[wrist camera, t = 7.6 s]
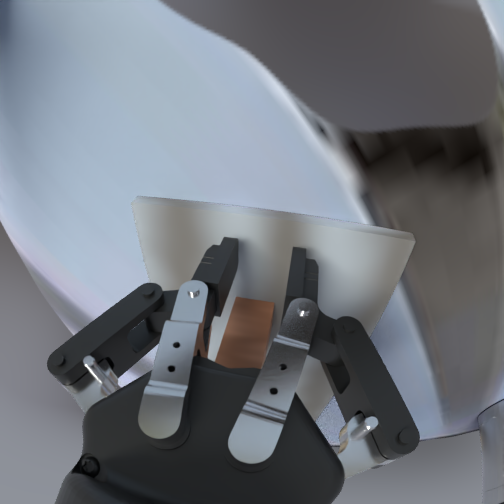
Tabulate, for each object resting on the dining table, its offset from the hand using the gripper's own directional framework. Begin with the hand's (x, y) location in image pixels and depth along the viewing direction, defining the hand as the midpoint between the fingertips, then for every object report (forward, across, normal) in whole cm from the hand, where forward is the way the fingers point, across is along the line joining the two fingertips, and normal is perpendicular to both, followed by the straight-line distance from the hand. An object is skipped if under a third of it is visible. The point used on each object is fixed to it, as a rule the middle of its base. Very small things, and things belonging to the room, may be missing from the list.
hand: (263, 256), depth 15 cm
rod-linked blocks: (+1, 0, +14) cm, 14 cm away
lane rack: (+1, 0, +17) cm, 18 cm away
